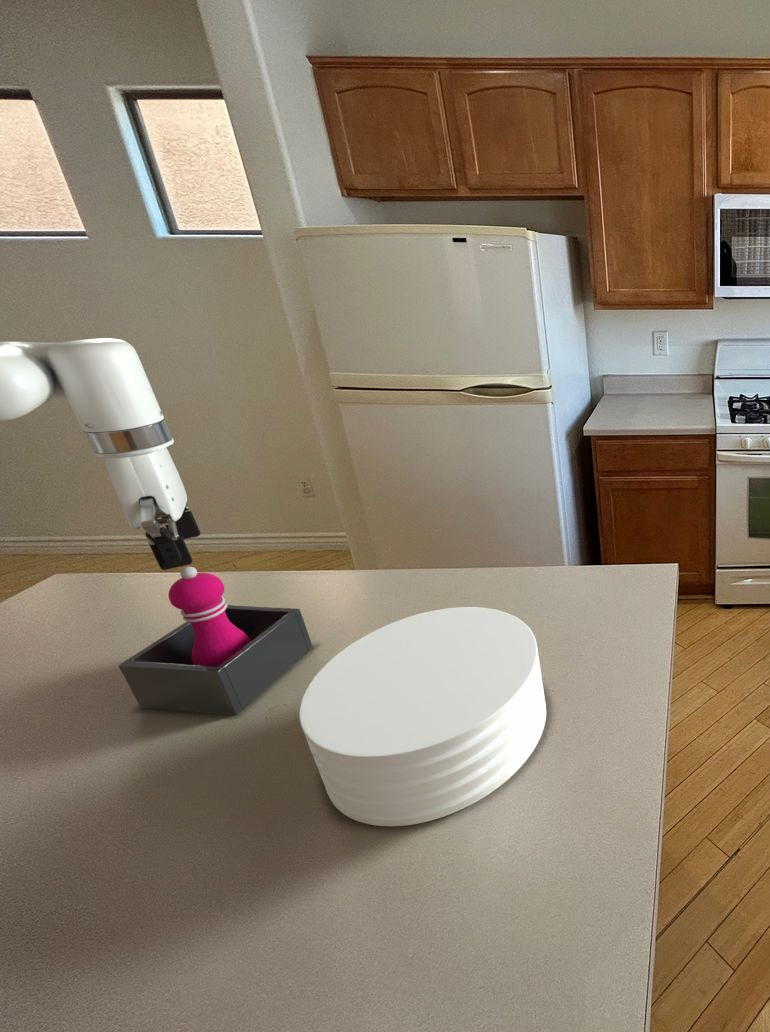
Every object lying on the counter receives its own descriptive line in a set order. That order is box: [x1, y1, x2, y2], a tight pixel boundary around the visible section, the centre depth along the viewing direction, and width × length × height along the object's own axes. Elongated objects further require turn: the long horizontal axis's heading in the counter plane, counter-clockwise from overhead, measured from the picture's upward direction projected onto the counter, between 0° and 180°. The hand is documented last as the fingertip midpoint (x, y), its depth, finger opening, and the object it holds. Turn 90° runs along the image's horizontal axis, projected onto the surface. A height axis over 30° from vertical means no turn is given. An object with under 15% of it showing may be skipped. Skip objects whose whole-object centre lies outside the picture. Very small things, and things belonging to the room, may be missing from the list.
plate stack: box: [299, 606, 547, 827], centre depth 76 cm, size 28×28×12 cm
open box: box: [117, 604, 314, 716], centre depth 86 cm, size 15×15×8 cm
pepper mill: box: [168, 566, 251, 667], centre depth 84 cm, size 7×7×20 cm
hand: (182, 551), depth 79 cm, fingers open, 9 cm apart
